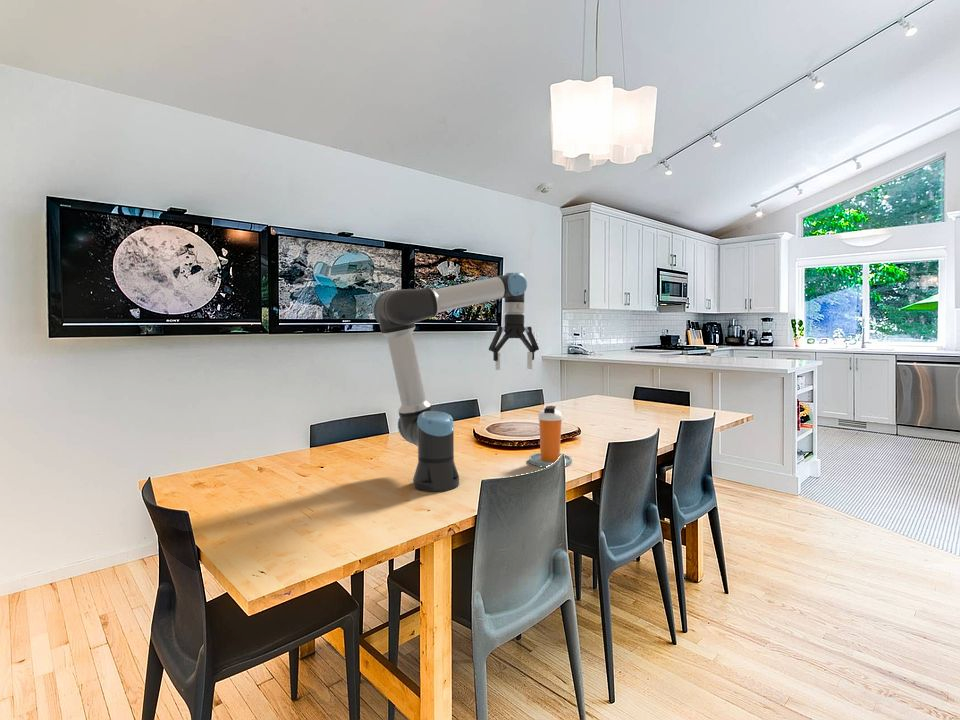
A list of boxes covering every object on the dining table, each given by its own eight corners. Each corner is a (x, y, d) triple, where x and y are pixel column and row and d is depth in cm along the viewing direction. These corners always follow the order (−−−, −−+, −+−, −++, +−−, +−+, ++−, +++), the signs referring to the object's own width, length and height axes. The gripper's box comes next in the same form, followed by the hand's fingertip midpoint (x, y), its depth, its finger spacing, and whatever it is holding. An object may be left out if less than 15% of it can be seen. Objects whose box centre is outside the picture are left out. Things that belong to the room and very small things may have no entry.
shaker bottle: (561, 456, 198) (561, 405, 196) (562, 462, 189) (563, 409, 187) (538, 456, 199) (538, 405, 197) (538, 462, 190) (538, 409, 188)
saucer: (542, 470, 183) (542, 465, 183) (521, 459, 198) (521, 455, 198) (580, 464, 190) (580, 460, 190) (556, 454, 204) (556, 450, 204)
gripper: (488, 313, 187) (487, 371, 188) (547, 314, 196) (547, 369, 198) (480, 313, 194) (480, 369, 195) (538, 314, 203) (538, 367, 205)
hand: (513, 369), depth 197 cm, fingers open, 13 cm apart
